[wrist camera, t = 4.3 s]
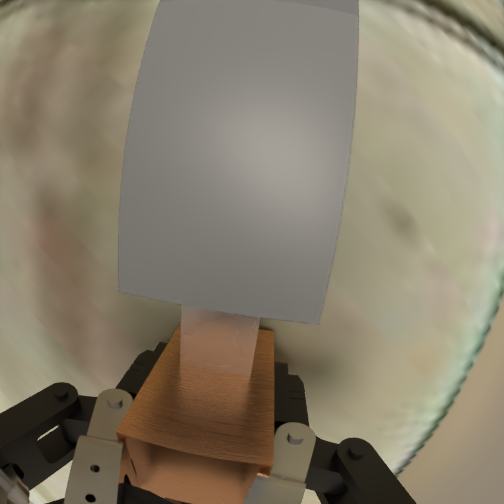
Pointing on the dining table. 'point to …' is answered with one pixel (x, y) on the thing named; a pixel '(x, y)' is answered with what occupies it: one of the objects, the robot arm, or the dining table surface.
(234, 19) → the outer sleeve
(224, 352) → the bar with orange block
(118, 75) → the dining table surface
